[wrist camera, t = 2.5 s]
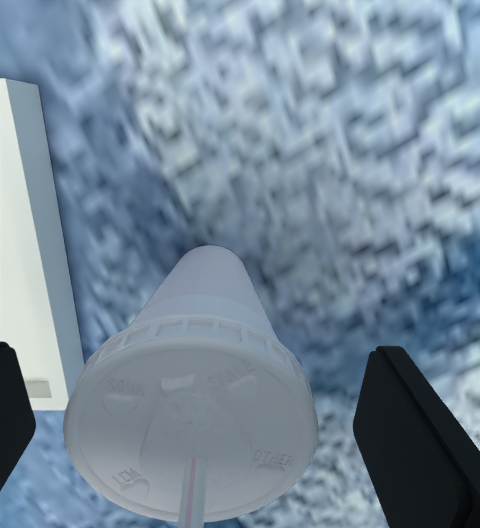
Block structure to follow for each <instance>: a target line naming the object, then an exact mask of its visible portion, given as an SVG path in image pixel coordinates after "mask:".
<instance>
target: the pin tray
mask: <svg viewBox="0 0 480 528" xmlns="http://www.w3.org/2000/svg"><path fill="white" fill-rule="evenodd" d="M0 341H3V342H6V343H8V344H9V346H10V347H12V348H14V349H15V351H16V354H17V358H18V361H19V365H20V368H21V372H22V376H23V379H24V383H25V386H26V390H27V393H28V397H29V400H30V404H31V407H32V410H66V407H67V403H68V401H69V399H70V396H71V394H72V392H73V391H74V389H75V387H76V384H77V381H78V379H79V377H80V375H81V373H82V371H83V369H84V367H85V364H84V358H83V352H82V346H81V340H80V334H79V328H78V322H77V316H76V310H75V304H74V298H73V292H72V286H71V280H70V274H69V268H68V262H67V256H66V250H65V244H64V238H63V232H62V226H61V220H60V214H59V208H58V202H57V196H56V190H55V184H54V178H53V172H52V166H51V160H50V154H49V148H48V142H47V136H46V130H45V124H44V118H43V112H42V106H41V100H40V94H39V88H38V85H35V84H30V83H25V82H20V81H15V80H10V79H4V78H0Z"/></svg>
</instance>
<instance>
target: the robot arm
mask: <svg viewBox="0 0 480 528" xmlns="http://www.w3.org/2000/svg"><path fill="white" fill-rule="evenodd" d="M35 428H36V421H35V418H34V414H33V411H32V407H31V404H30V400H29V397H28V393H27V390H26V386H25V383H24V379H23V376H22V372H21V368H20V365H19V361H18V358H17V354H16V351H15V349H14V348H12V347H10V346H9V344H8V343H6V342H3V341H0V491H1V489H2V487H3V486H4V484H5V482H6V481H7V479H8V477H9V476H10V474H11V472H12V471H13V469H14V467H15V466H16V464H17V462H18V461H19V459H20V457H21V456H22V454H23V452H24V451H25V449H26V447H27V446H28V444H29V442H30V441H31V439H32V437H33V435H34V432H35ZM353 432H354V436H355V439H356V442H357V444H358V447H359V450H360V452H361V455H362V457H363V460H364V463H365V465H366V468H367V470H368V473H369V476H370V478H371V481H372V483H373V486H374V489H375V491H376V494H377V496H378V499H379V502H380V504H381V507H382V509H383V512H384V515H385V517H386V520H387V522H388V525H389V527H390V528H480V451H479V449H478V448H477V447H476V445H475V444H474V443H473V441H472V440H471V439H470V437H469V436H468V435H467V433H466V432H465V430H464V429H463V428H462V426H461V425H460V424H459V422H458V421H457V420H456V418H455V417H454V416H453V414H452V413H451V411H450V410H449V409H448V407H447V406H446V405H445V404H444V403H443V402H442V400H441V399H440V397H439V396H438V395H437V393H436V392H435V391H434V389H433V388H432V387H431V385H430V384H429V382H428V381H427V380H426V378H425V377H424V376H423V374H422V373H421V372H420V370H419V369H418V367H417V366H416V365H415V363H414V362H413V361H412V359H411V358H410V357H409V355H408V354H407V352H406V351H405V350H404V349H403V348H402V347H400V346H378V347H377V348H376V351H372V352H371V353H370V355H369V358H368V362H367V367H366V371H365V375H364V379H363V383H362V388H361V392H360V396H359V400H358V404H357V408H356V413H355V417H354V421H353Z"/></svg>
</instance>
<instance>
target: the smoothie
mask: <svg viewBox="0 0 480 528" xmlns="http://www.w3.org/2000/svg"><path fill="white" fill-rule="evenodd" d="M313 403H314V401H313V396H312V392H311V388H310V384H309V380H308V376H307V375H306V373H305V372H304V370H303V369H302V367H301V365H300V364H299V362H298V361H297V359H296V357H295V356H294V354H293V353H292V352H290V351H289V350H288V349H287V348H286V347H285V346H283V345H282V344H281V343H280V342H279V341H278V338H277V336H276V335H275V333H274V330H273V328H272V326H271V324H270V322H269V319H268V317H267V315H266V313H265V311H264V308H263V306H262V304H261V302H260V300H259V297H258V295H257V293H256V291H255V289H254V286H253V284H252V282H251V280H250V278H249V275H248V273H247V271H246V269H245V267H244V264H243V263H242V261H241V260H240V259H239V257H238V256H237V255H236V254H234V253H233V252H232V251H230V250H228V249H226V248H224V247H220V246H216V245H204V246H200V247H197V248H194V249H192V250H190V251H189V252H187V253H186V254H185V255H184V256H183V257H182V258H181V259H180V260H179V262H178V263H177V264H176V266H175V267H174V268H173V270H172V271H171V272H170V274H169V275H168V276H167V278H166V279H165V280H164V281H163V283H162V284H161V285H160V287H159V288H158V289H157V291H156V292H155V293H154V295H153V296H152V297H151V299H150V300H149V301H148V303H147V304H146V305H145V306H144V308H143V309H142V310H141V312H140V313H139V314H138V316H137V317H136V318H135V320H134V321H133V322H132V323H131V324H130V326H129V327H128V328H126V329H125V330H123V331H121V332H119V333H117V334H115V335H114V336H112V337H110V338H109V339H108V340H107V341H106V342H105V343H104V344H103V345H102V346H101V347H100V348H99V349H98V350H97V351H96V352H95V353H94V354H93V355H92V356H91V357H90V358H89V359H88V361H87V363H86V365H85V367H84V369H83V371H82V373H81V375H80V377H79V379H78V381H77V384H76V387H75V389H74V391H73V392H72V394H71V396H70V399H69V401H68V403H67V407H66V410H65V415H64V420H63V433H64V440H65V445H66V448H67V451H68V454H69V456H70V458H71V460H72V462H73V464H74V466H75V467H76V469H77V470H78V472H79V473H80V475H81V476H82V477H83V478H84V479H85V480H86V481H87V482H88V483H89V484H90V485H91V487H92V488H93V489H94V490H96V491H97V492H99V493H100V494H101V495H103V496H104V497H105V498H107V499H108V500H109V501H111V502H113V503H115V504H117V505H119V506H121V507H123V508H125V509H127V510H129V511H131V512H134V513H137V514H140V515H143V516H146V517H149V518H154V519H159V520H164V521H169V522H178V526H177V528H204V522H215V521H220V520H226V519H231V518H235V517H238V516H241V515H244V514H247V513H250V512H253V511H255V510H257V509H259V508H261V507H263V506H266V505H268V504H270V503H271V502H273V501H274V500H276V499H277V498H278V497H280V496H281V495H283V494H284V493H285V492H287V491H288V490H289V489H290V488H291V487H292V486H293V485H294V484H295V483H296V482H297V481H298V480H299V479H300V478H301V476H302V475H303V473H304V472H305V471H306V469H307V467H308V466H309V464H310V462H311V460H312V458H313V455H314V453H315V449H316V446H317V440H318V421H317V415H316V411H315V407H314V404H313Z"/></svg>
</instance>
